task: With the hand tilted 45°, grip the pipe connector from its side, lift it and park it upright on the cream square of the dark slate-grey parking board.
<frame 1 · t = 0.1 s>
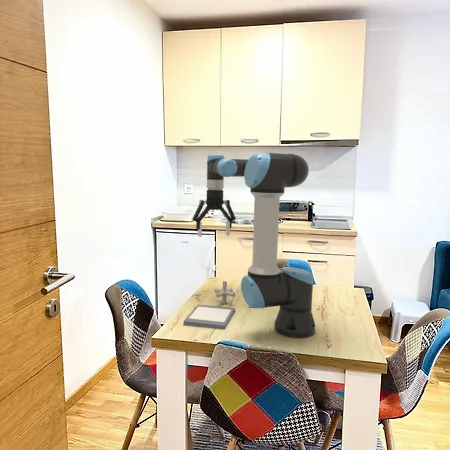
hand: (213, 236, 194), 28 cm above the table, tool pointing down, fingers open, 13 cm apart
parking board: (210, 317, 170), on the table
pipe connector: (224, 304, 187), on the table
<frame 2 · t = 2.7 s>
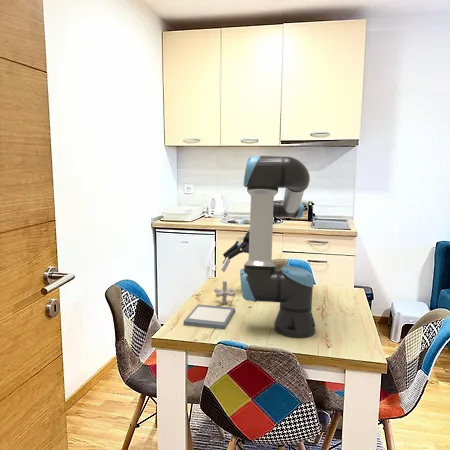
hand: (234, 273, 192), 12 cm above the table, tool tilted 45°, fingers open, 13 cm apart
nothing on the table moved.
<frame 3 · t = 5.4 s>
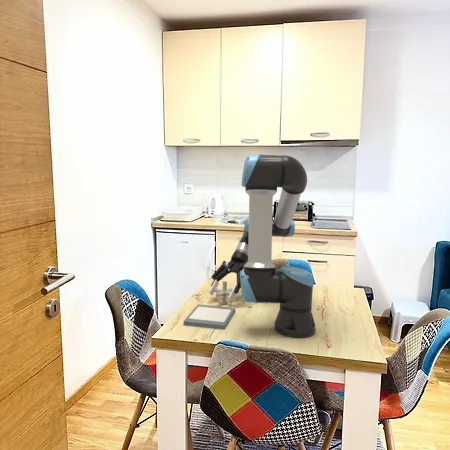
hand: (220, 296, 184), 4 cm above the table, tool tilted 45°, fingers closed on pipe connector, 10 cm apart
pipe connector: (224, 304, 187), on the table, touching gripper
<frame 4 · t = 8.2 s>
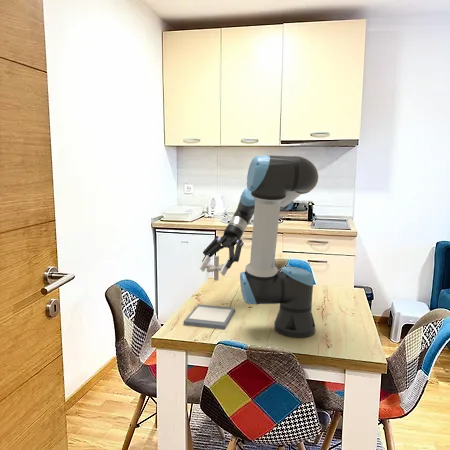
hand: (211, 271, 173), 17 cm above the table, tool tilted 45°, fingers closed on pipe connector, 10 cm apart
pipe connector: (216, 280, 176), point 13 cm above the table, touching gripper
when the fingers open (7 cm above the table, at t = 11.1 s): pipe connector drops 2 cm, resting on parking board.
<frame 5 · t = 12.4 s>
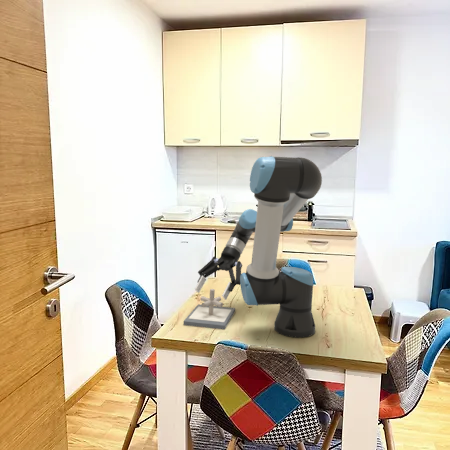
hand: (210, 294, 168), 10 cm above the table, tool tilted 45°, fingers open, 13 cm apart
pipe connector: (210, 314, 169), point 1 cm above the table, touching parking board
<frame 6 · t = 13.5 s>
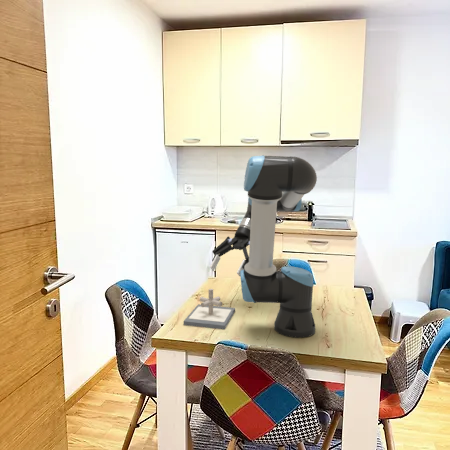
hand: (224, 271, 174), 17 cm above the table, tool tilted 45°, fingers open, 13 cm apart
nothing on the table moved.
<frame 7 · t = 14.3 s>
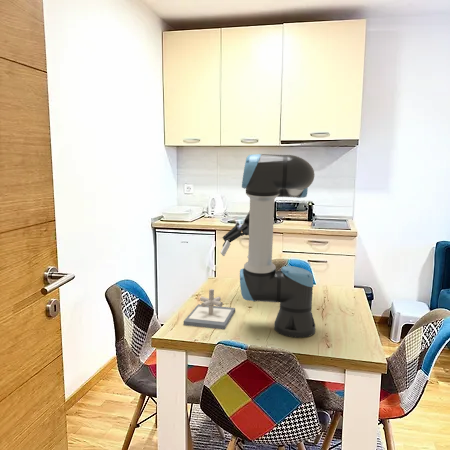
hand: (235, 256, 179), 22 cm above the table, tool tilted 45°, fingers open, 13 cm apart
nothing on the table moved.
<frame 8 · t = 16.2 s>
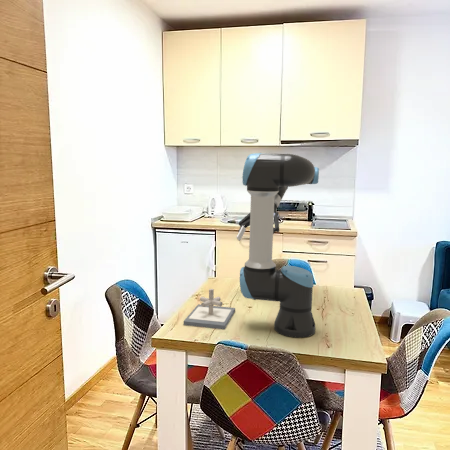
hand: (251, 241, 185), 28 cm above the table, tool tilted 45°, fingers open, 13 cm apart
nothing on the table moved.
at the end: pipe connector inside the target area on the parking board (0.1 cm from its centre), point 1.5 cm above the parking board's base; pipe connector tilted 1°; the gripper is holding nothing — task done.
